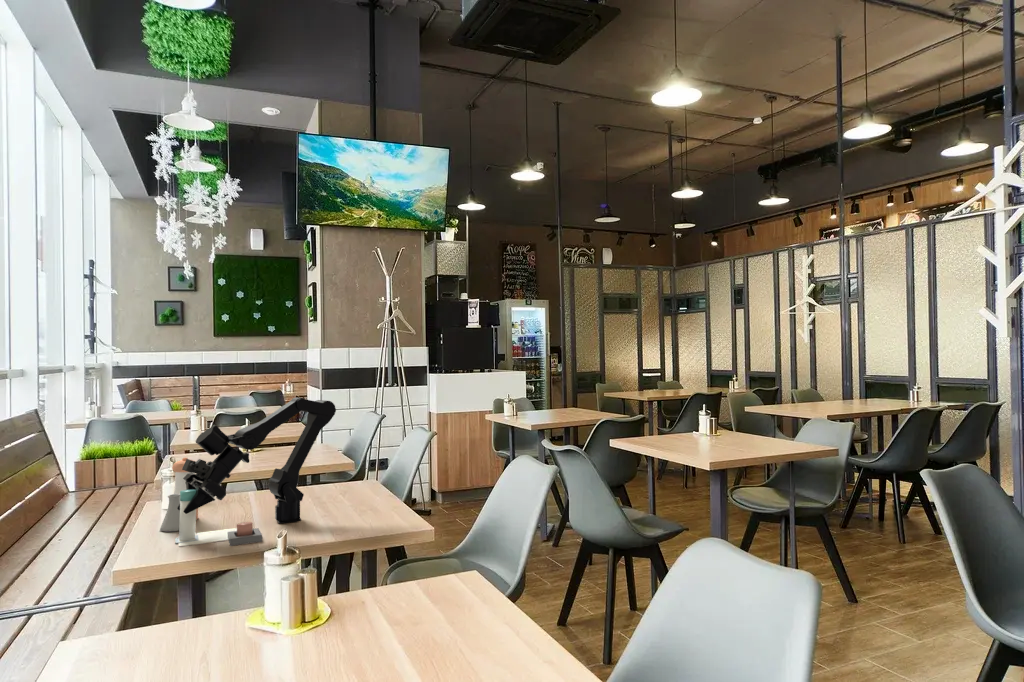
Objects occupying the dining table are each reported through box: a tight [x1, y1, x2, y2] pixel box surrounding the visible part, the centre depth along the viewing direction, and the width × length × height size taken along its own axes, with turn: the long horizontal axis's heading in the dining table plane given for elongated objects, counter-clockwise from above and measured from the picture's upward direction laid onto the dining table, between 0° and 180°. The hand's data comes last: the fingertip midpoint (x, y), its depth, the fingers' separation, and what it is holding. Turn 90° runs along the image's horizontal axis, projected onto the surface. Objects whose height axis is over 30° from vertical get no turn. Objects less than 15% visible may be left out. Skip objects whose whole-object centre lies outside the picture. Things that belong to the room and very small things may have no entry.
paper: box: [174, 527, 237, 548], centre depth 181 cm, size 17×12×1 cm
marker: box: [178, 490, 197, 541], centre depth 178 cm, size 4×4×13 cm
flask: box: [159, 493, 180, 532], centre depth 190 cm, size 7×7×10 cm
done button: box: [236, 521, 254, 537], centre depth 178 cm, size 4×4×3 cm
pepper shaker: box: [171, 457, 199, 520], centre depth 201 cm, size 7×7×19 cm
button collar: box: [227, 527, 263, 547], centre depth 178 cm, size 8×8×2 cm
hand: (181, 511), depth 177 cm, fingers open, 5 cm apart
